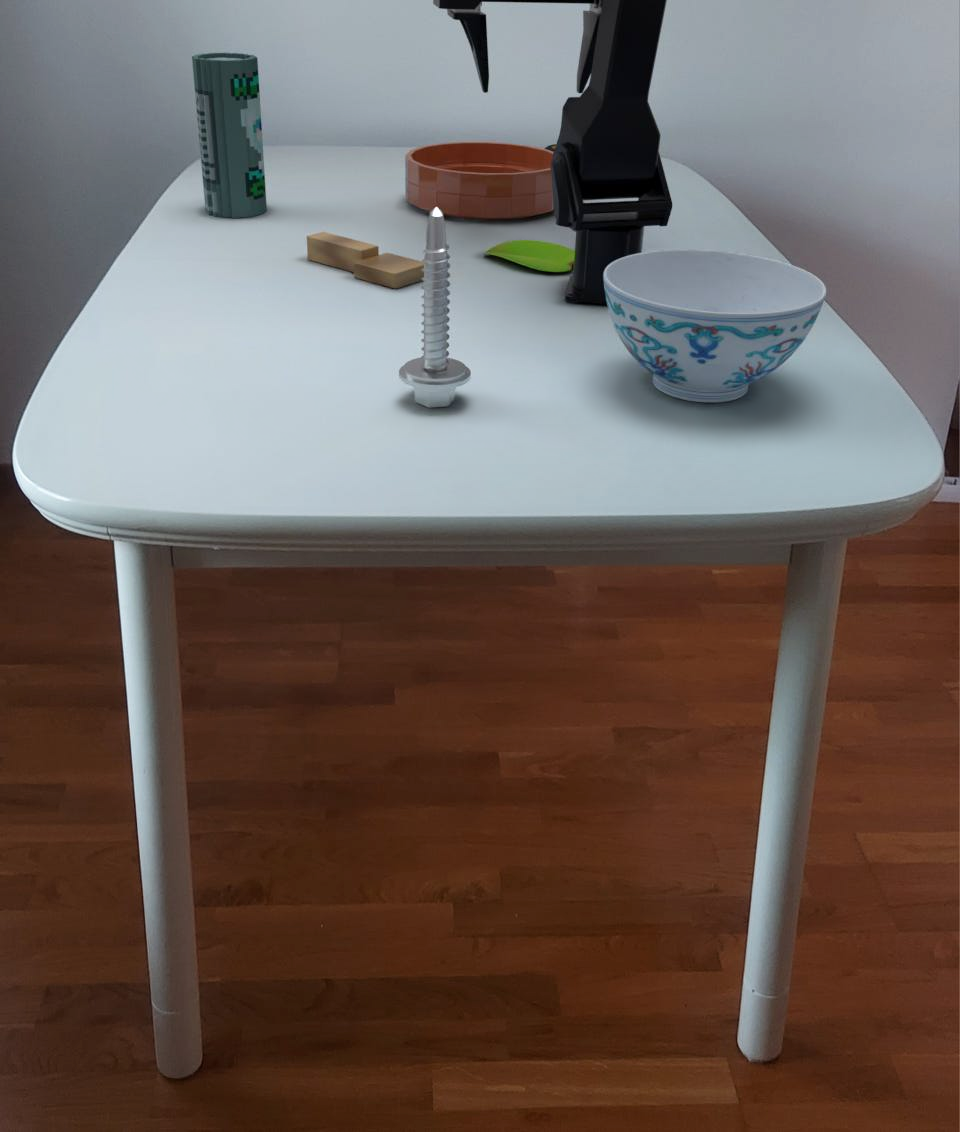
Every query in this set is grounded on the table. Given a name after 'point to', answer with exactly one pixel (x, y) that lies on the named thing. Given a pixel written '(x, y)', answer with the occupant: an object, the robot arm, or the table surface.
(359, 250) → the stepped wooden block
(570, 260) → the decorative leaf
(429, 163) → the bowl
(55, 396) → the table surface
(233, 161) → the can
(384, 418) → the table surface
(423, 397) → the screw
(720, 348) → the chinaware
